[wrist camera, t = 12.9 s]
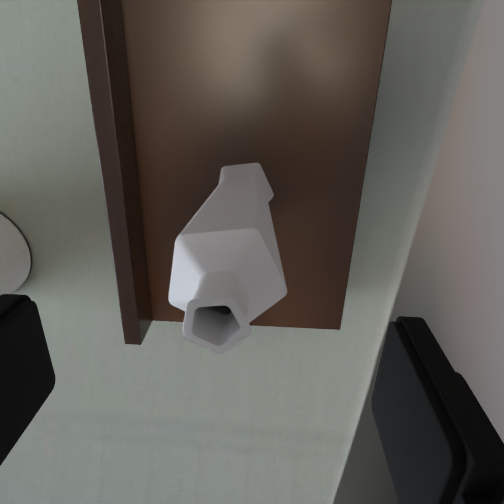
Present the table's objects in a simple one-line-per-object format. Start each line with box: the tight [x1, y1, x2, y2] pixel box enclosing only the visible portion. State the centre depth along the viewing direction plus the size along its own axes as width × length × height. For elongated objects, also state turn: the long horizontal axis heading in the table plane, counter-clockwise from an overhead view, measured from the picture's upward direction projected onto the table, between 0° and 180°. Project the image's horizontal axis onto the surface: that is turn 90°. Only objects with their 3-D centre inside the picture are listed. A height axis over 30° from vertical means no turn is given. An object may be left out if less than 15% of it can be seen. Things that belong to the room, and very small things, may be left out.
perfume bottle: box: [168, 163, 287, 353], centre depth 18 cm, size 5×4×15 cm
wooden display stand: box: [77, 0, 392, 345], centre depth 26 cm, size 16×22×8 cm
